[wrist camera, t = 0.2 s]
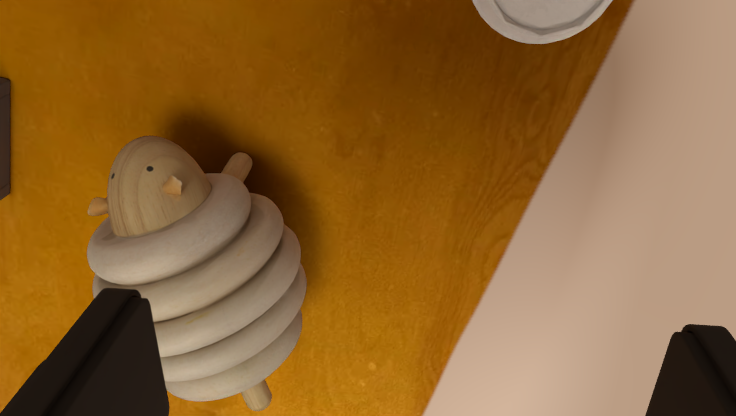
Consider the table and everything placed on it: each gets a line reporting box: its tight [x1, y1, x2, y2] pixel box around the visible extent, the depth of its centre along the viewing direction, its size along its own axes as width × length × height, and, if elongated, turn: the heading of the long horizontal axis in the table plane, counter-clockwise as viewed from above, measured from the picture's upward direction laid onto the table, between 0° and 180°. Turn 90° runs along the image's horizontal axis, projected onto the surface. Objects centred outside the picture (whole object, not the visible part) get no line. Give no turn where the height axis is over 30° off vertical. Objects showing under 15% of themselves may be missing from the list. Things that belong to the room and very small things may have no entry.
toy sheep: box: [87, 136, 307, 411], centre depth 32 cm, size 11×17×11 cm, turn 21°
